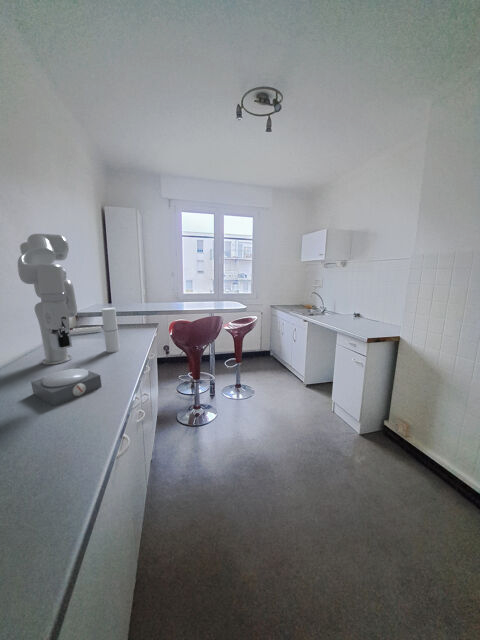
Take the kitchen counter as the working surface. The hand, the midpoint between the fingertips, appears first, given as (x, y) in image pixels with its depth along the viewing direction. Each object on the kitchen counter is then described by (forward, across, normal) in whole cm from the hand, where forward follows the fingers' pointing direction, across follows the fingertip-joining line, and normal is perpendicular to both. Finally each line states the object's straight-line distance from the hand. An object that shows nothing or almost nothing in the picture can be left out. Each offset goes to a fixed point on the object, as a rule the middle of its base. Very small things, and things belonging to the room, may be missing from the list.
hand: (61, 344), depth 96 cm
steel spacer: (+1, 0, 0) cm, 1 cm away
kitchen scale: (+19, 0, 0) cm, 19 cm away
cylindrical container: (+19, -31, +39) cm, 53 cm away
